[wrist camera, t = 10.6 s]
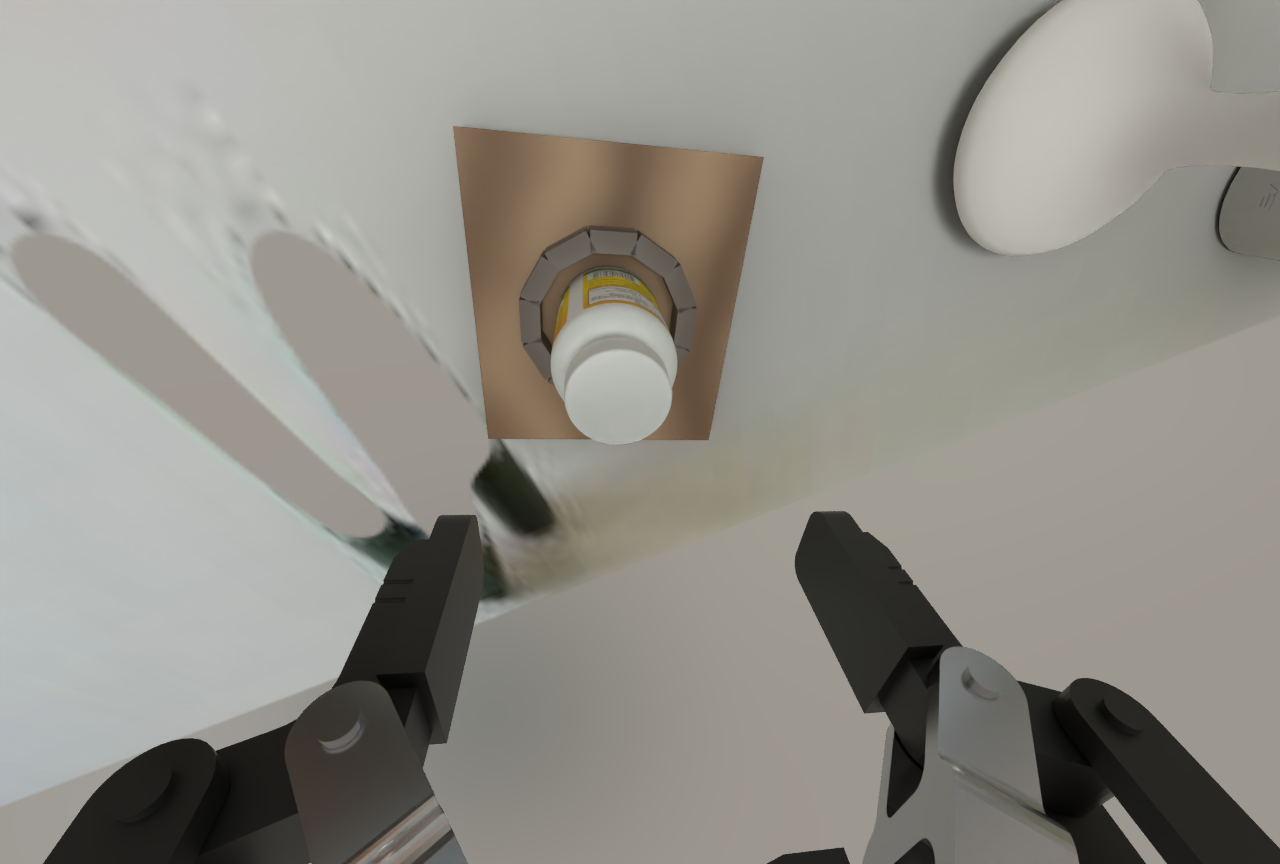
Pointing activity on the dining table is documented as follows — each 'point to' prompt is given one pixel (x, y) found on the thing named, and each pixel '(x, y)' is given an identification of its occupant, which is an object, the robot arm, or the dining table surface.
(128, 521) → the dining table surface
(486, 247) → the collar board
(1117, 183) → the flower in vase
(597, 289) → the supplement bottle
